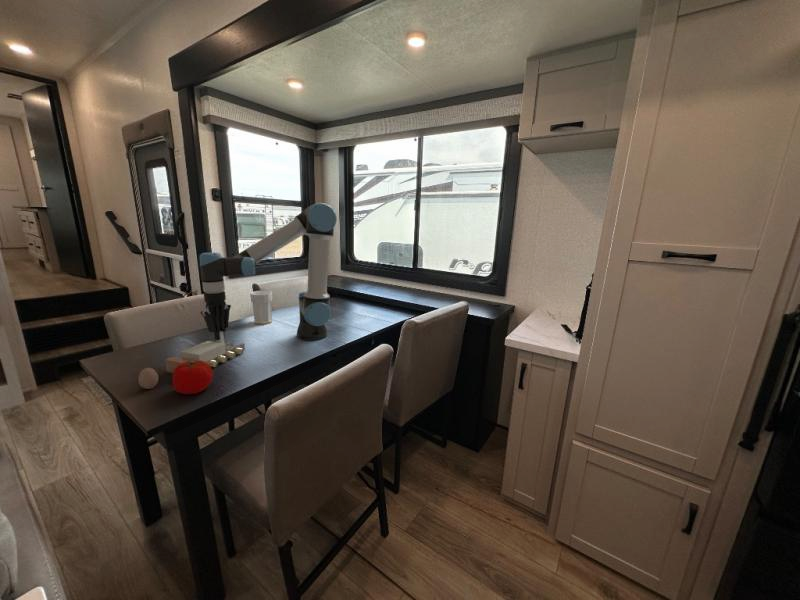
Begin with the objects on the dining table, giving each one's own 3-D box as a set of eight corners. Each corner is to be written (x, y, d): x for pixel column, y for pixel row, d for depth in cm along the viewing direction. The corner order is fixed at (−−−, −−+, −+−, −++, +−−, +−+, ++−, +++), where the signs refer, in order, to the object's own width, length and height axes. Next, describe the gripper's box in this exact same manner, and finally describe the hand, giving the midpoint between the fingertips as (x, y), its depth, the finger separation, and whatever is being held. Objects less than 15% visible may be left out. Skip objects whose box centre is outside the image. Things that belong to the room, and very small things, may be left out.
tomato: (165, 394, 103) (160, 365, 101) (197, 379, 114) (194, 352, 112) (190, 402, 99) (186, 373, 97) (222, 386, 110) (219, 358, 107)
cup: (259, 318, 185) (257, 290, 181) (277, 320, 184) (275, 291, 180) (248, 324, 175) (245, 294, 170) (267, 326, 173) (265, 295, 169)
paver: (226, 352, 130) (225, 343, 129) (200, 364, 119) (198, 354, 118) (209, 349, 132) (207, 340, 131) (182, 361, 121) (180, 351, 120)
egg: (153, 392, 105) (149, 371, 103) (136, 392, 104) (132, 371, 103) (163, 384, 110) (160, 364, 108) (147, 384, 110) (143, 364, 108)
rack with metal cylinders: (250, 351, 140) (249, 340, 139) (195, 378, 115) (194, 365, 114) (225, 346, 144) (224, 336, 143) (167, 371, 119) (165, 359, 117)
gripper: (220, 287, 134) (226, 339, 139) (192, 293, 122) (200, 350, 127) (234, 289, 132) (239, 341, 137) (207, 295, 120) (215, 353, 125)
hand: (220, 346), depth 132 cm, fingers closed
